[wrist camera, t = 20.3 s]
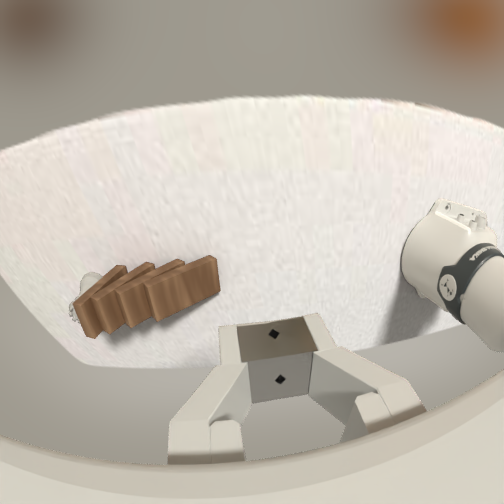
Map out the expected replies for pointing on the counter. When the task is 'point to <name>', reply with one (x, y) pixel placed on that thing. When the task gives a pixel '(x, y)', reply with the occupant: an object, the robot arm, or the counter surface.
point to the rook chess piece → (84, 290)
